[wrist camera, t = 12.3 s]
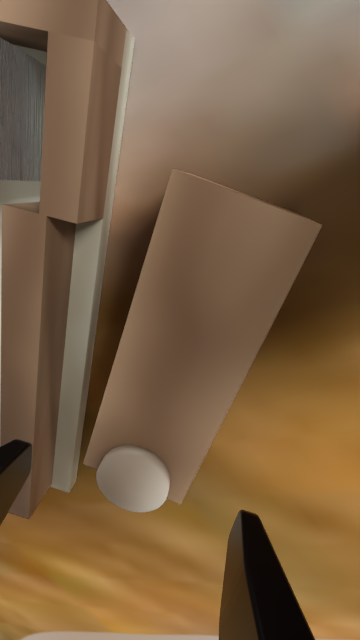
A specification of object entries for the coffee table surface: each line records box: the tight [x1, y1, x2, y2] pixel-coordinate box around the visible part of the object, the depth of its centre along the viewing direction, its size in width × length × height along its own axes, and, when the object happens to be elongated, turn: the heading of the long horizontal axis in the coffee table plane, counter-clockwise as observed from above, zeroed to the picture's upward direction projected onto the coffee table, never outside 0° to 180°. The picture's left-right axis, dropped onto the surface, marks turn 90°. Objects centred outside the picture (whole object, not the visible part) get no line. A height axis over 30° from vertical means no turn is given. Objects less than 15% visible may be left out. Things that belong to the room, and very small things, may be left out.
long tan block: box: [83, 168, 322, 512], centre depth 15 cm, size 5×14×5 cm, turn 161°
